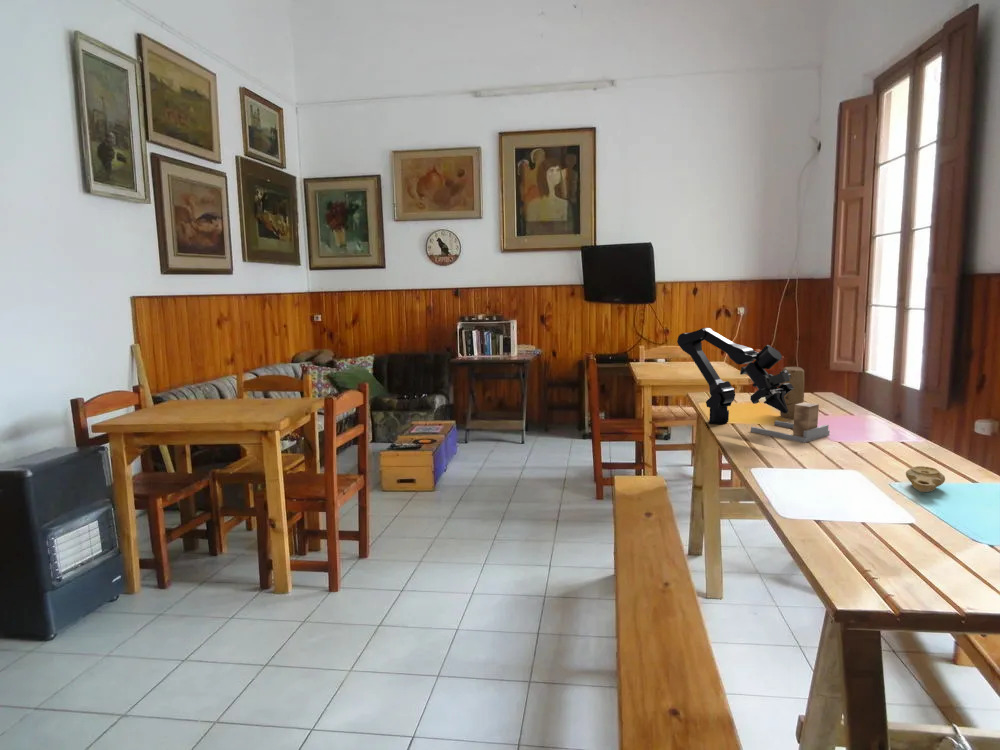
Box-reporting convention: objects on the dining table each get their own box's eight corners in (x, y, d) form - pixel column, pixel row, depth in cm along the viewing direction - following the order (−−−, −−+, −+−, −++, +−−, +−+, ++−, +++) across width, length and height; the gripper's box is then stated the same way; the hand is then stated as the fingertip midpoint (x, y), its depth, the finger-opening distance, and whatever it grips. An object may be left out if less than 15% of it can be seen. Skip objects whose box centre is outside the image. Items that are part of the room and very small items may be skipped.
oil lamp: (917, 499, 159) (918, 479, 158) (889, 480, 173) (891, 462, 172) (962, 500, 157) (964, 481, 156) (931, 481, 171) (933, 463, 170)
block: (803, 421, 241) (806, 369, 237) (782, 420, 242) (785, 369, 239) (797, 415, 251) (800, 365, 248) (777, 414, 253) (779, 365, 249)
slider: (793, 436, 214) (794, 404, 212) (802, 433, 217) (804, 402, 216) (807, 439, 210) (809, 406, 208) (816, 436, 213) (818, 404, 212)
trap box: (750, 435, 222) (751, 421, 221) (776, 428, 231) (776, 415, 230) (804, 447, 206) (804, 432, 205) (829, 439, 215) (830, 424, 214)
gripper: (760, 365, 214) (788, 403, 207) (790, 360, 225) (818, 396, 218) (738, 385, 222) (765, 421, 215) (768, 379, 232) (795, 413, 225)
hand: (786, 412), depth 218 cm, fingers closed
